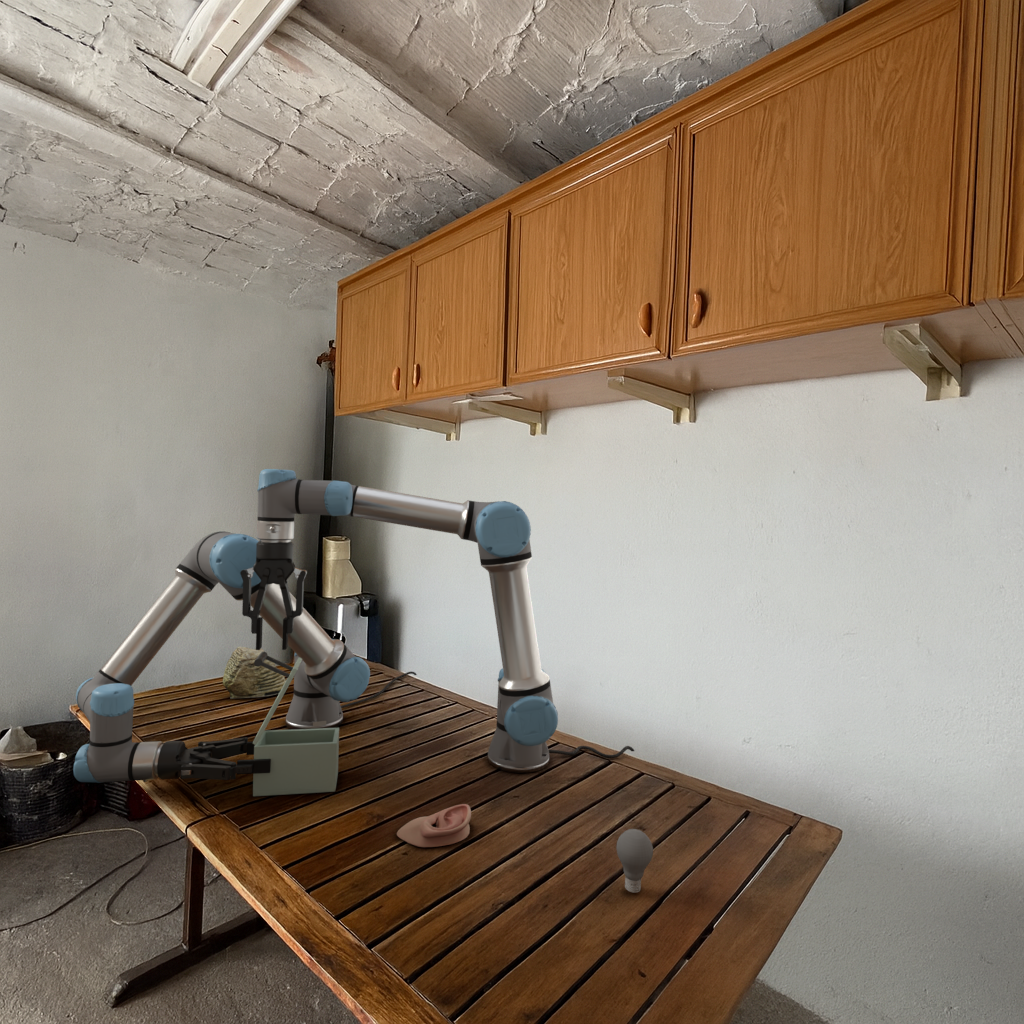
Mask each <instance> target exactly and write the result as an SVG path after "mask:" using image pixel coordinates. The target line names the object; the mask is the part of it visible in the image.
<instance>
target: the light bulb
mask: <svg viewBox="0 0 1024 1024" xmlns="http://www.w3.org/2000/svg"><path fill="white" fill-rule="evenodd" d="M615 849H616V854H617V857H618V859H619V861H620V863H621V865H622V867H623V873H624V874H623V875H624V876H625V878H624V888H625V890H627V891H628V892H630V893H634V894H635V893H639V892H640V891H641V889H642V887H641V886H642V879H643V877H644V875H645V871H646V868H647V867H648V866H649V864H650V863H651V861H652V859H653V855H654V847H653V843H652V841H651V838H649V836H648V835H647V834H646V833H645V832H643V831H642V830H641V829H636V828H629V829H627V830H625V831H623V832H622V833H621V834H620V835H619V837H618V839H617V841H616V847H615Z"/></svg>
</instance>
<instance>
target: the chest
mask: <svg viewBox="0 0 1024 1024" xmlns="http://www.w3.org/2000/svg"><path fill="white" fill-rule="evenodd" d="M339 750H340V727H335V728H319V729H294V730H292V729H272V730H271V729H269V730H264V732H263V734H262V736H261V737H260V739H259V741H258V743H257V745H255V746H254V755H253V759H271V768H270V773H258V774H252V775H253V776H252V777H253V779H252V797H265V796H267V797H268V796H282V795H299V794H316V793H317V794H319V793H333V792H336V789H337V783H338V776H339V775H338V774H339V754H340V753H339V752H340V751H339Z"/></svg>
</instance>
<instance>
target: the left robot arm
mask: <svg viewBox="0 0 1024 1024" xmlns="http://www.w3.org/2000/svg"><path fill="white" fill-rule="evenodd" d="M259 541H260V540H259V539H257V538H254V537H253V536H250V535H248V534H245V533H236V532H235V533H234V532H229V531H225V530H224V531H214V532H211V533H208V534H207V535H205V536H203V537H202V538H201V539H200V540H198V541H197V542H196V543H195V544H194V546H193V547H192V548H191V549H190V550H189V551H188V553H187V554H186V555H185V556H184V557H183V559H182V560H181V561H180V562H179V564H178V565H176V567H175V569H174V573H175V575H174V577H173V578H172V580H170V582H169V583H168V585H167V586H166V587H165V588H164V590H163V591H162V592H161V593H160V595H159V596H158V597H156V600H155V601H154V602H153V603H152V605H151V606H149V608H148V609H147V611H146V612H144V613H145V614H143V616H142V617H141V618H140V619H139V621H138V622H136V624H135V625H134V626H133V628H132V629H131V630H130V632H129V633H128V634H127V635H126V637H124V639H123V640H122V641H121V643H120V644H119V645H118V647H117V648H116V649H115V651H113V653H112V654H111V656H110V657H109V658H108V659H107V660H106V661H105V663H104V664H103V665H102V666H101V668H100V669H99V670H98V671H97V672H96V673H95V675H94V676H93V677H90V678H88V679H86V680H84V681H83V682H82V683H81V684H80V685H79V686H78V687H77V689H76V691H75V692H76V693H75V701H76V704H77V708H79V710H80V712H82V713H83V714H84V716H85V717H86V719H87V720H88V721H89V742H88V743H85V744H83V745H81V746H80V748H79V749H77V750H78V751H77V752H76V755H75V757H74V763H73V768H72V769H73V771H72V772H73V776H74V778H75V780H76V781H78V782H80V783H97V784H103V783H113V782H115V783H116V782H132V781H133V782H135V781H143V782H144V783H147V782H148V781H156V780H158V779H160V780H161V781H162V780H163V781H164V780H177V779H181V780H186V779H201V780H216V781H217V780H218V781H229V780H231V781H233V780H236V776H237V775H253V774H258V773H270V768H271V759H254V758H253V759H237V761H231V760H224V759H225V758H228V757H233V756H238V755H242V754H246V756H254V746H255V745H254V744H252V743H253V741H249V737H246V736H244V737H238V738H229V739H220V740H212V741H203V740H202V741H198V742H197V746H194V747H190V748H188V747H187V746H186V745H187V744H186V743H185V742H184V741H182V740H168V741H165V742H163V741H161V740H159V741H157V740H156V741H139V742H137V741H136V742H135V741H133V727H134V725H133V724H134V722H133V721H134V707H135V699H134V688H133V686H132V685H133V684H134V683H135V682H136V680H138V678H139V677H140V675H141V674H142V673H143V672H144V670H145V669H146V668H147V667H148V666H149V664H150V663H151V662H152V660H153V659H154V658H155V656H156V655H157V654H158V653H159V651H160V650H161V649H162V647H163V646H164V645H165V644H166V643H167V642H168V640H169V638H171V636H172V635H173V634H174V632H175V631H176V630H177V629H178V627H179V626H180V624H182V622H183V621H184V619H186V617H187V616H188V615H189V613H190V612H191V611H192V609H193V608H194V607H195V605H196V604H197V603H198V601H199V600H200V599H201V598H202V597H203V595H204V594H206V593H212V591H213V590H214V588H215V587H216V586H217V585H218V584H220V586H221V587H222V588H224V590H225V591H227V593H228V594H230V596H231V597H232V598H233V599H234V600H235V601H239V602H240V601H243V579H242V577H241V574H240V572H241V571H242V570H244V569H249V568H252V567H253V566H254V564H255V562H256V544H257V543H258V542H259ZM260 583H261V580H260V578H259V577H258V575H257V574H256V573H255V572H254V573H253V577H252V578H251V609H253V608H254V605H255V601H256V598H257V594H258V591H259V586H260ZM289 593H290V598H291V602H292V607H293V611H295V610H296V596H294V595H293V594H292V593H291V591H289ZM259 617H263V621H265V622H266V623H267V625H269V627H270V628H271V629H272V630H273V631H274V632H275V633H276V634H277V635H278V636H279V638H280V639H281V640H283V619H284V618H285V617H287V615H286V611H285V606H284V602H283V597H282V593H281V589H280V586H279V584H274V583H273V584H268V587H267V589H266V593H265V596H264V600H263V603H262V607H261V610H260V615H259ZM288 647H289V648H290V649H291V650H292V651H293V652H294V655H293V656H294V664H295V663H296V662H297V660H298V658H299V657H300V658H302V661H301V663H300V665H299V667H298V670H297V671H296V673H295V675H294V677H293V695H292V696H293V697H292V699H291V702H290V704H289V708H288V711H287V713H286V715H285V726H286V728H287V729H288V730H294V729H319V728H338V727H339V726H340V725H342V723H343V722H344V713H343V709H345V708H347V707H348V708H349V707H351V706H353V705H357V704H360V703H363V702H366V701H369V700H372V699H374V698H376V697H379V696H380V695H381V694H383V693H384V692H385V691H386V690H387V689H388V688H389V687H390V686H391V685H392V684H393V683H394V682H396V681H397V680H399V679H401V678H404V677H407V676H408V675H414V676H417V675H418V674H417V673H416V672H415V671H408V672H405V673H403V674H401V675H399V676H396V677H394V678H393V679H391V680H390V681H389V682H388V683H387V684H386V686H384V688H381V690H380V691H378V692H377V693H374V694H373V695H370V696H368V697H365V698H362V699H359V700H357V699H358V698H360V697H361V696H362V695H363V693H364V692H365V691H366V690H367V688H368V686H369V684H370V677H371V670H370V666H369V664H368V663H367V661H365V660H364V659H363V658H362V657H359V656H356V655H355V654H354V653H353V652H352V651H351V650H350V649H349V648H348V647H347V645H346V644H345V643H344V642H343V640H341V639H337V638H331V636H329V634H328V633H327V632H326V631H325V629H324V628H322V626H321V625H320V624H319V623H318V622H317V621H316V620H315V618H313V616H312V615H311V614H310V613H309V612H308V611H307V609H306V608H304V607H303V612H302V614H301V615H300V616H297V617H295V618H294V625H293V632H292V633H288ZM355 700H356V701H355ZM341 703H346V704H341Z"/></svg>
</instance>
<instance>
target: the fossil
mask: <svg viewBox="0 0 1024 1024" xmlns="http://www.w3.org/2000/svg"><path fill="white" fill-rule="evenodd" d="M261 652H265V650H264V649H263V648H261V649H260V650H256V648H251V647H247V646H246V647H245V646H238V647H237V648H236V649H235V650H233V651H232V653H231V656H230V657H229V659H228V660H227V663H226V666H225V668H224V671H223V675H222V676H223V677H222V685H223V687H224V688H225V690H226V691H228V693H229V698H230V699H250V698H264V697H271V696H275V695H279V693H280V691H281V689H282V687H283V685H284V684H285V682H286V680H287V679H286V677H285V676H283V675H281V674H278V673H276V672H274V671H272V670H270V669H267V668H265V667H263V666H259V667H257V666H255V665H254V661H255V660H256V658H257V657H258V656H259V654H260V653H261ZM267 656H269V655H268V654H267ZM264 663H266V664H269V665H271V666H273V667H275V668H277V669H279V668H278V667H277V664H275V663H273V662H271V661H269V660H266V659H265V661H264Z"/></svg>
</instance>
